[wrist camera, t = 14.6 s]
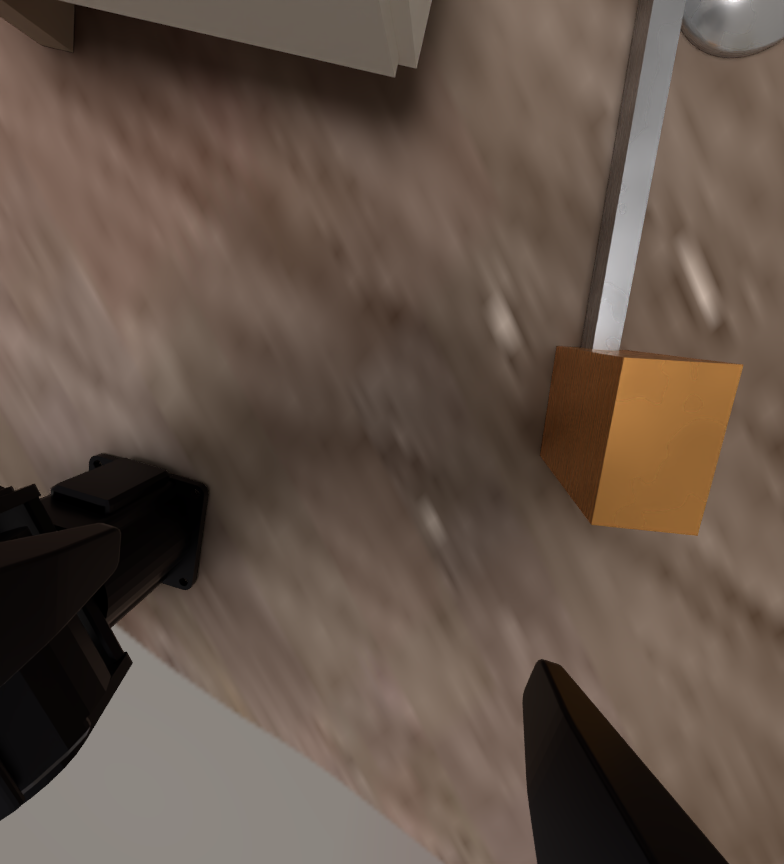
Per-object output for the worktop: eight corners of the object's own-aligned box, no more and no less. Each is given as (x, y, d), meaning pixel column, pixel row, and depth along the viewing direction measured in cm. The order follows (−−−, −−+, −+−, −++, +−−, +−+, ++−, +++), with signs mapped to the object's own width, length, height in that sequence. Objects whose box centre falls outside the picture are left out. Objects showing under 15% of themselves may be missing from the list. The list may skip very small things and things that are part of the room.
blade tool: (607, 461, 19) (697, 535, 12) (540, 455, 19) (591, 524, 12) (718, -105, 14) (980, -516, 7) (624, -100, 14) (788, -489, 7)
